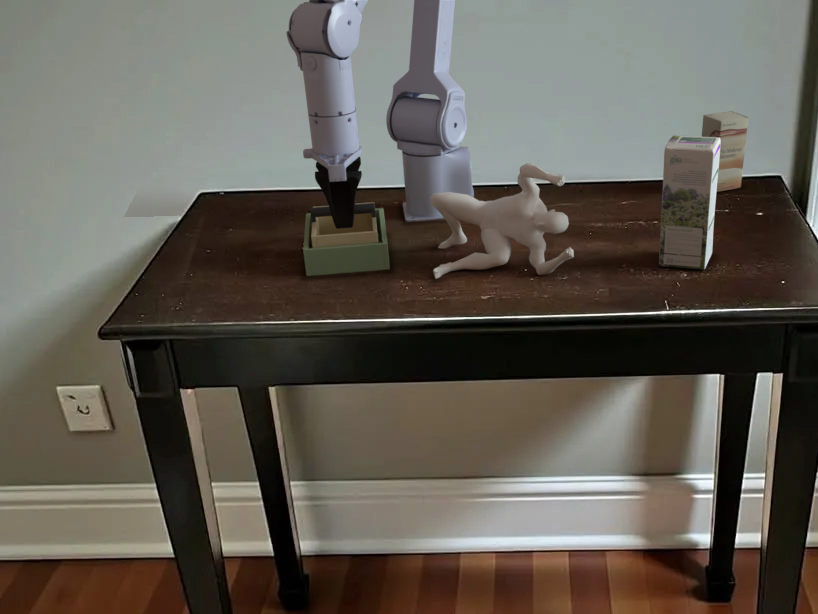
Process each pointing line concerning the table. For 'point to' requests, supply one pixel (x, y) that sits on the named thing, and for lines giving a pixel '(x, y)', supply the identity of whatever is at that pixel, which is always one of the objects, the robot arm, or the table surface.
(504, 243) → the person figurine
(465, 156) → the robot arm
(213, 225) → the table surface
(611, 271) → the table surface
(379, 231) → the sage bin
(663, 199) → the syrup box
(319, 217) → the cream bin
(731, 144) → the makeup remover box
